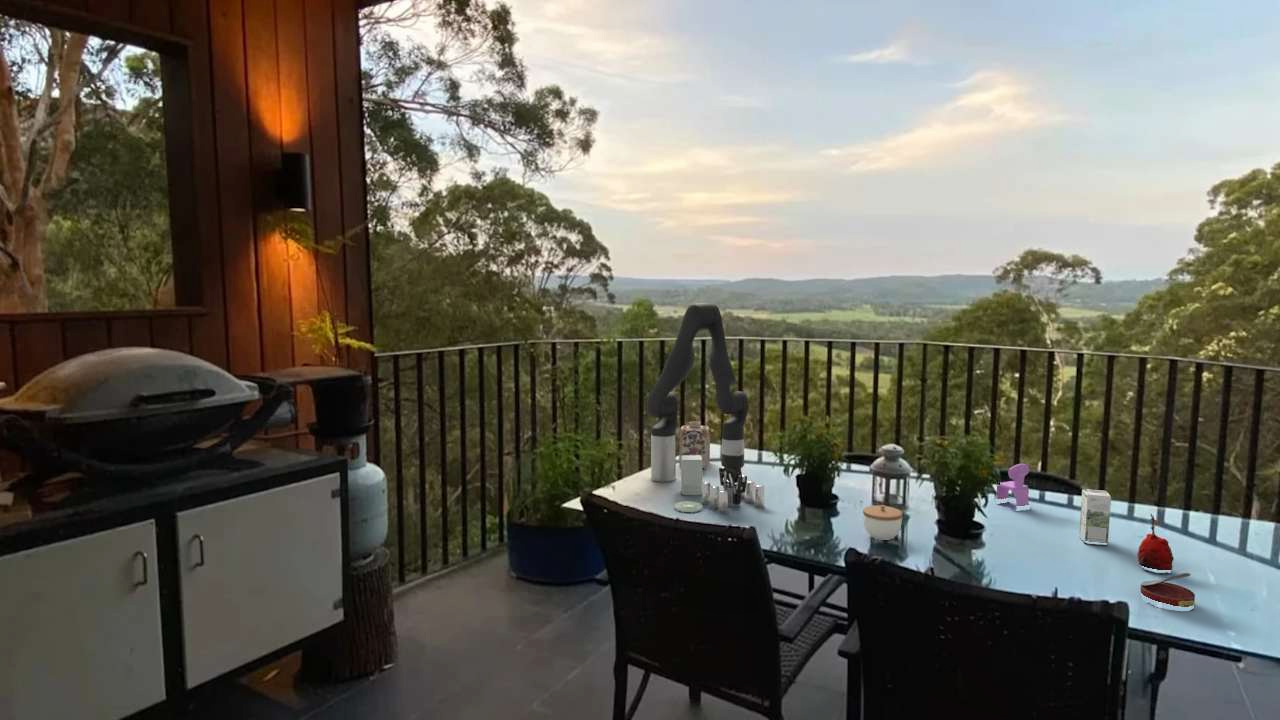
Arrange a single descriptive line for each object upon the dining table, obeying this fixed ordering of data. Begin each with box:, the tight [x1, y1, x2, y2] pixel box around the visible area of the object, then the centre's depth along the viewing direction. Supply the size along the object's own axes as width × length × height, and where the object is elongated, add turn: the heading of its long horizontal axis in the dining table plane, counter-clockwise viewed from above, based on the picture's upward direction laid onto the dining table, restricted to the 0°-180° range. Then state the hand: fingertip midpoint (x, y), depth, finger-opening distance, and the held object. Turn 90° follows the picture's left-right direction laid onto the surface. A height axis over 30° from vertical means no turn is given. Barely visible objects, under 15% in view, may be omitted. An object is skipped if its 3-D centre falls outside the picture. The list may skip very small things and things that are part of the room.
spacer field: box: [700, 480, 765, 515], centre depth 233 cm, size 14×17×7 cm
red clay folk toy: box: [1137, 513, 1174, 571], centre depth 176 cm, size 8×7×15 cm
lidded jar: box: [862, 504, 904, 541], centre depth 201 cm, size 11×11×9 cm
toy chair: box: [996, 463, 1030, 507], centre depth 228 cm, size 8×9×15 cm
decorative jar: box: [678, 421, 711, 470], centre depth 286 cm, size 12×12×18 cm
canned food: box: [1140, 572, 1196, 607], centre depth 158 cm, size 11×10×10 cm
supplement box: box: [680, 455, 703, 496], centre depth 248 cm, size 7×7×13 cm
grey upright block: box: [726, 486, 740, 508], centre depth 233 cm, size 4×5×6 cm
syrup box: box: [1078, 488, 1112, 544], centre depth 196 cm, size 6×6×14 cm
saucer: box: [674, 501, 703, 514], centre depth 230 cm, size 9×9×1 cm
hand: (732, 501), depth 233 cm, fingers open, 5 cm apart
